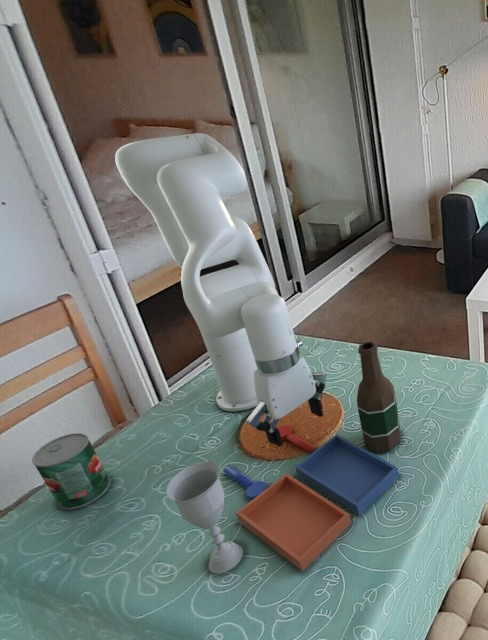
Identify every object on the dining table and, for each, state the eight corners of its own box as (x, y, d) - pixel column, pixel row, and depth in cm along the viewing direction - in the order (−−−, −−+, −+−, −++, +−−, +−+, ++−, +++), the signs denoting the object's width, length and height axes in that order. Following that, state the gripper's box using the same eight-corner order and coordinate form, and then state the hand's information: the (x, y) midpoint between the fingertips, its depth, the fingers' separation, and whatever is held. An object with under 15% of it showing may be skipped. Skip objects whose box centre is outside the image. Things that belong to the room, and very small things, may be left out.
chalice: (214, 540, 85) (182, 462, 77) (255, 536, 86) (227, 459, 77) (193, 582, 78) (156, 502, 70) (238, 578, 79) (206, 499, 71)
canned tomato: (120, 481, 97) (98, 438, 92) (77, 514, 90) (51, 470, 85) (92, 471, 99) (69, 428, 94) (48, 503, 92) (20, 459, 87)
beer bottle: (393, 456, 101) (377, 359, 90) (357, 451, 103) (338, 355, 92) (407, 429, 108) (394, 336, 97) (374, 425, 109) (358, 332, 99)
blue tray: (297, 476, 97) (294, 466, 96) (338, 442, 105) (336, 433, 104) (359, 516, 89) (357, 506, 88) (399, 476, 97) (397, 467, 96)
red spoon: (320, 447, 104) (319, 441, 103) (306, 458, 101) (304, 453, 100) (285, 426, 109) (283, 421, 109) (270, 436, 107) (268, 431, 106)
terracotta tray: (239, 522, 88) (235, 512, 87) (289, 482, 96) (286, 473, 95) (302, 571, 80) (299, 561, 79) (351, 523, 88) (349, 513, 86)
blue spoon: (218, 477, 97) (216, 471, 96) (235, 464, 100) (233, 459, 99) (254, 503, 92) (252, 497, 91) (272, 489, 94) (270, 484, 94)
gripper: (303, 332, 103) (320, 398, 110) (222, 376, 90) (247, 448, 97) (328, 341, 99) (343, 409, 106) (246, 389, 86) (271, 463, 93)
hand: (297, 428), depth 102 cm, fingers open, 9 cm apart
